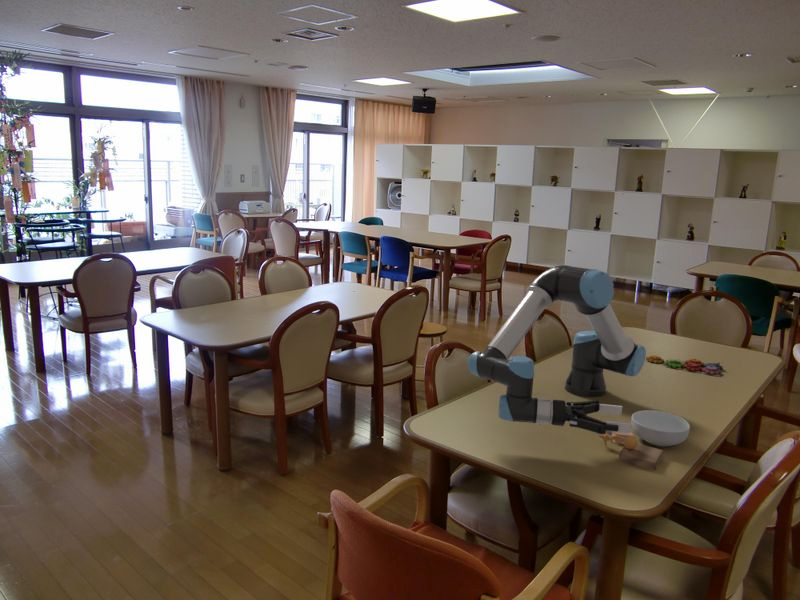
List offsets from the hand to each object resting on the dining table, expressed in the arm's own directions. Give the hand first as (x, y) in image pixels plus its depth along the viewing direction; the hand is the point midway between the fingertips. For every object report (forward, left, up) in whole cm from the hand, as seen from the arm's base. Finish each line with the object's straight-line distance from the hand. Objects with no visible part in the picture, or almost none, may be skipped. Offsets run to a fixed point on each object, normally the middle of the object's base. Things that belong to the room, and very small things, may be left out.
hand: (625, 419), depth 183 cm
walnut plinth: (+5, +2, -12) cm, 13 cm away
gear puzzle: (-4, +111, -12) cm, 111 cm away
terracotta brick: (-3, +11, -12) cm, 17 cm away
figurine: (+4, +2, -7) cm, 9 cm away
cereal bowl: (+6, +18, -12) cm, 23 cm away
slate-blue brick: (-10, +13, -12) cm, 20 cm away
